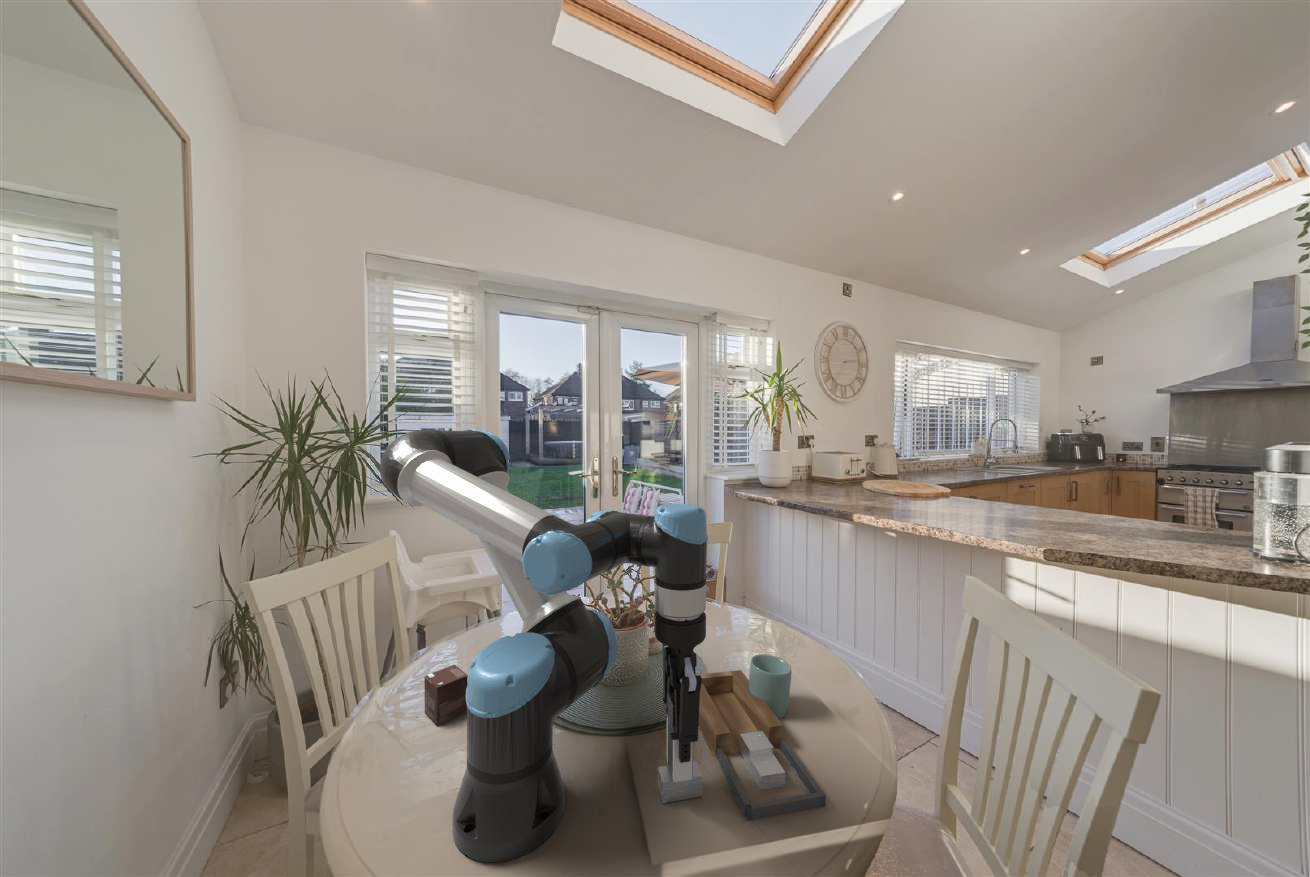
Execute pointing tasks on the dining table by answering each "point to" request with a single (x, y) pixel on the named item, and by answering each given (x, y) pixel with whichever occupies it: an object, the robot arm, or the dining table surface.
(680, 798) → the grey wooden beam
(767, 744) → the block
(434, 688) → the box
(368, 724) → the dining table surface
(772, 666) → the cup
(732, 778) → the tray
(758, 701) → the slot board
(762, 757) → the chip front
